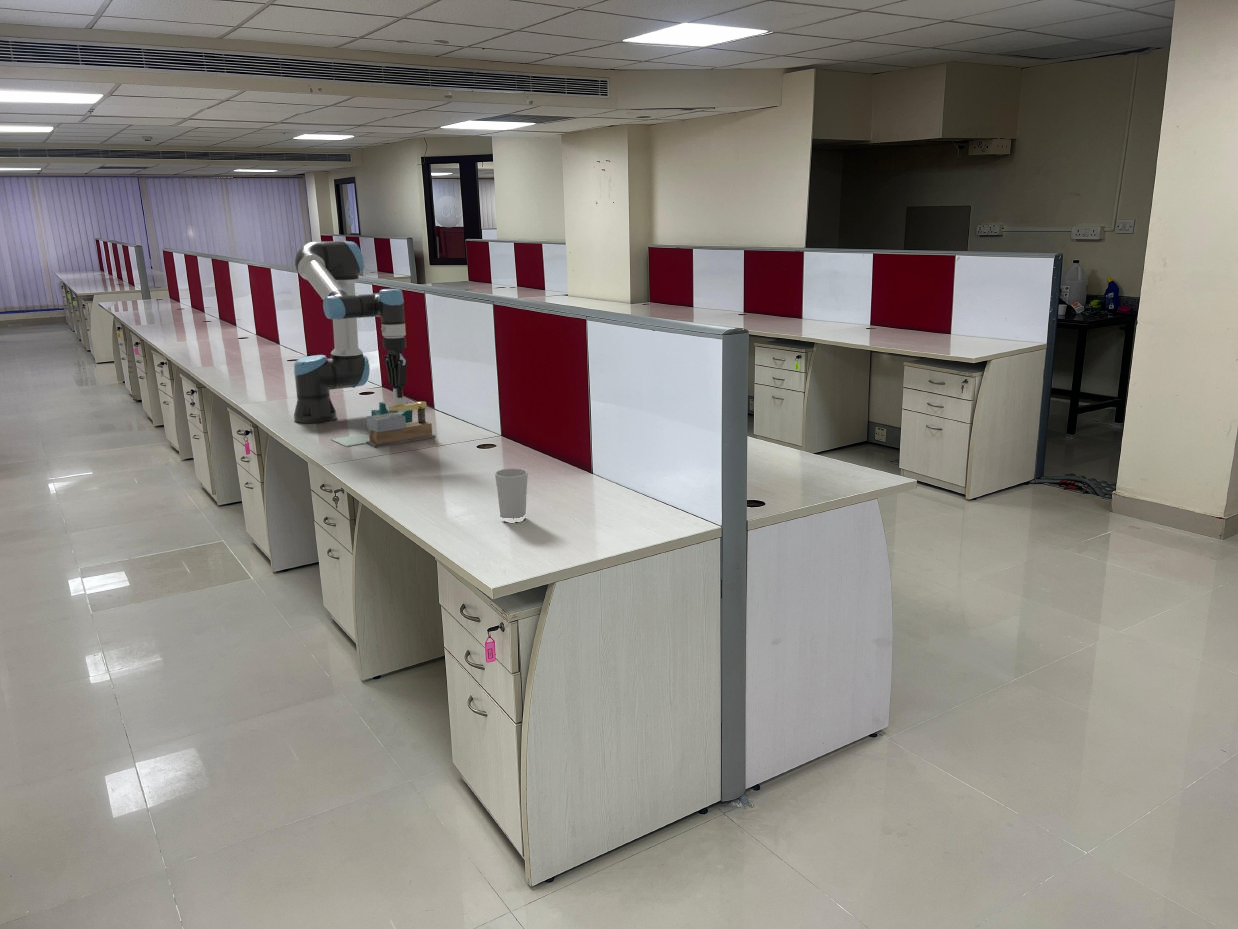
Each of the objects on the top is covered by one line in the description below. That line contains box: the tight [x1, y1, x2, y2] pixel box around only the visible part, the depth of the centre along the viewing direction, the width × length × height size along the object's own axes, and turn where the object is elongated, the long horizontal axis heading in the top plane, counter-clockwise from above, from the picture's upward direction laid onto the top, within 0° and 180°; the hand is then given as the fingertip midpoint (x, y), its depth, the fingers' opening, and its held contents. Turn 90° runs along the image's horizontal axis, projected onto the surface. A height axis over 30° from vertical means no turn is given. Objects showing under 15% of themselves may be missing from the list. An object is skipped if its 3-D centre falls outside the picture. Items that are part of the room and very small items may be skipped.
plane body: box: [365, 409, 437, 448], centre depth 298 cm, size 7×22×10 cm, turn 130°
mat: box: [331, 433, 370, 448], centre depth 299 cm, size 12×12×1 cm
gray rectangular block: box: [366, 413, 406, 432], centre depth 294 cm, size 8×10×4 cm
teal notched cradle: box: [370, 401, 414, 423], centre depth 316 cm, size 18×11×10 cm, turn 25°
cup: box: [494, 467, 529, 519], centre depth 217 cm, size 8×8×12 cm
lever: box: [388, 401, 427, 413], centre depth 298 cm, size 4×13×2 cm, turn 130°
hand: (399, 406), depth 298 cm, fingers closed
